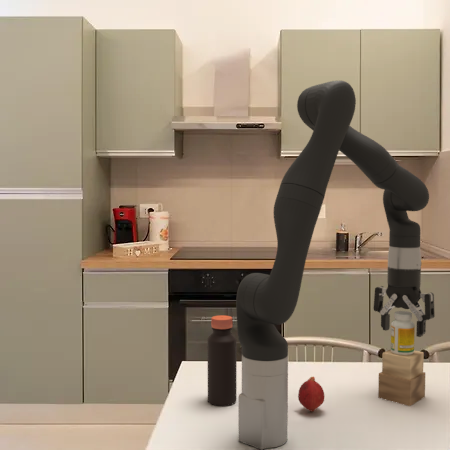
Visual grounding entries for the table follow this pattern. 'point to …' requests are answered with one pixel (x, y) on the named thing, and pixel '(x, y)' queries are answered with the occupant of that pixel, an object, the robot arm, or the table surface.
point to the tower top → (402, 364)
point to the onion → (311, 394)
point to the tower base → (401, 389)
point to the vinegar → (221, 362)
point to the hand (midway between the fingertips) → (402, 333)
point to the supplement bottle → (402, 333)
